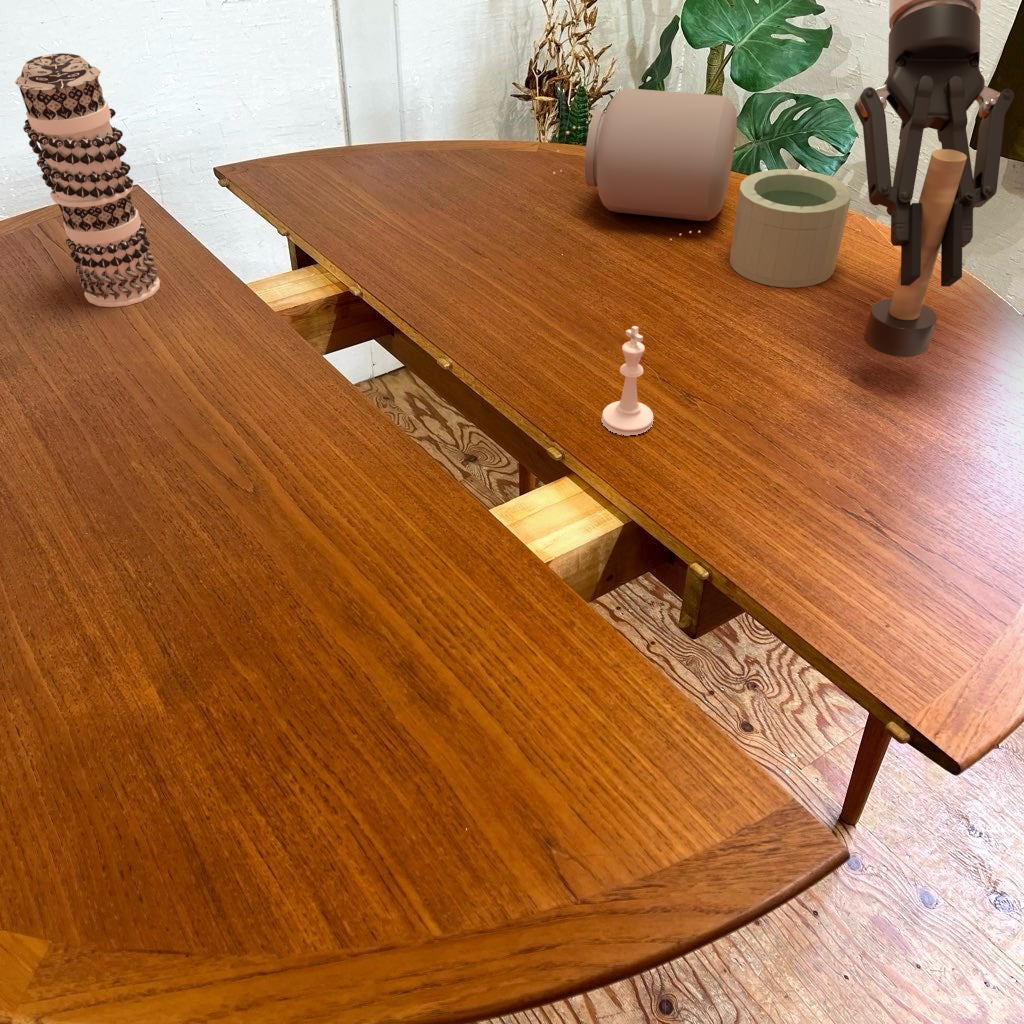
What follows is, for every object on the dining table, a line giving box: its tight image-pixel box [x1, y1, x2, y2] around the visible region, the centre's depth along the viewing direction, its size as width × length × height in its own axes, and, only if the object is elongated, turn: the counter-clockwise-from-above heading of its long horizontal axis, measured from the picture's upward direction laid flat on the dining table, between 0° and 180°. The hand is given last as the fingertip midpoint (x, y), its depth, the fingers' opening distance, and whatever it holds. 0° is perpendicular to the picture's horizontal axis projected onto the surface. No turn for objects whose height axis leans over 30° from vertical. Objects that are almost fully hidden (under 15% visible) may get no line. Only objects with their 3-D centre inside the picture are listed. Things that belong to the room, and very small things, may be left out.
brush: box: [863, 148, 967, 358], centre depth 87 cm, size 6×6×18 cm
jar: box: [541, 88, 738, 242], centre depth 122 cm, size 19×15×25 cm
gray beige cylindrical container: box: [729, 168, 852, 289], centre depth 111 cm, size 12×12×9 cm
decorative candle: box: [14, 52, 161, 308], centre depth 103 cm, size 9×9×25 cm
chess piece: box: [600, 325, 655, 437], centre depth 87 cm, size 5×5×10 cm
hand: (930, 280), depth 84 cm, fingers closed on brush, 3 cm apart
